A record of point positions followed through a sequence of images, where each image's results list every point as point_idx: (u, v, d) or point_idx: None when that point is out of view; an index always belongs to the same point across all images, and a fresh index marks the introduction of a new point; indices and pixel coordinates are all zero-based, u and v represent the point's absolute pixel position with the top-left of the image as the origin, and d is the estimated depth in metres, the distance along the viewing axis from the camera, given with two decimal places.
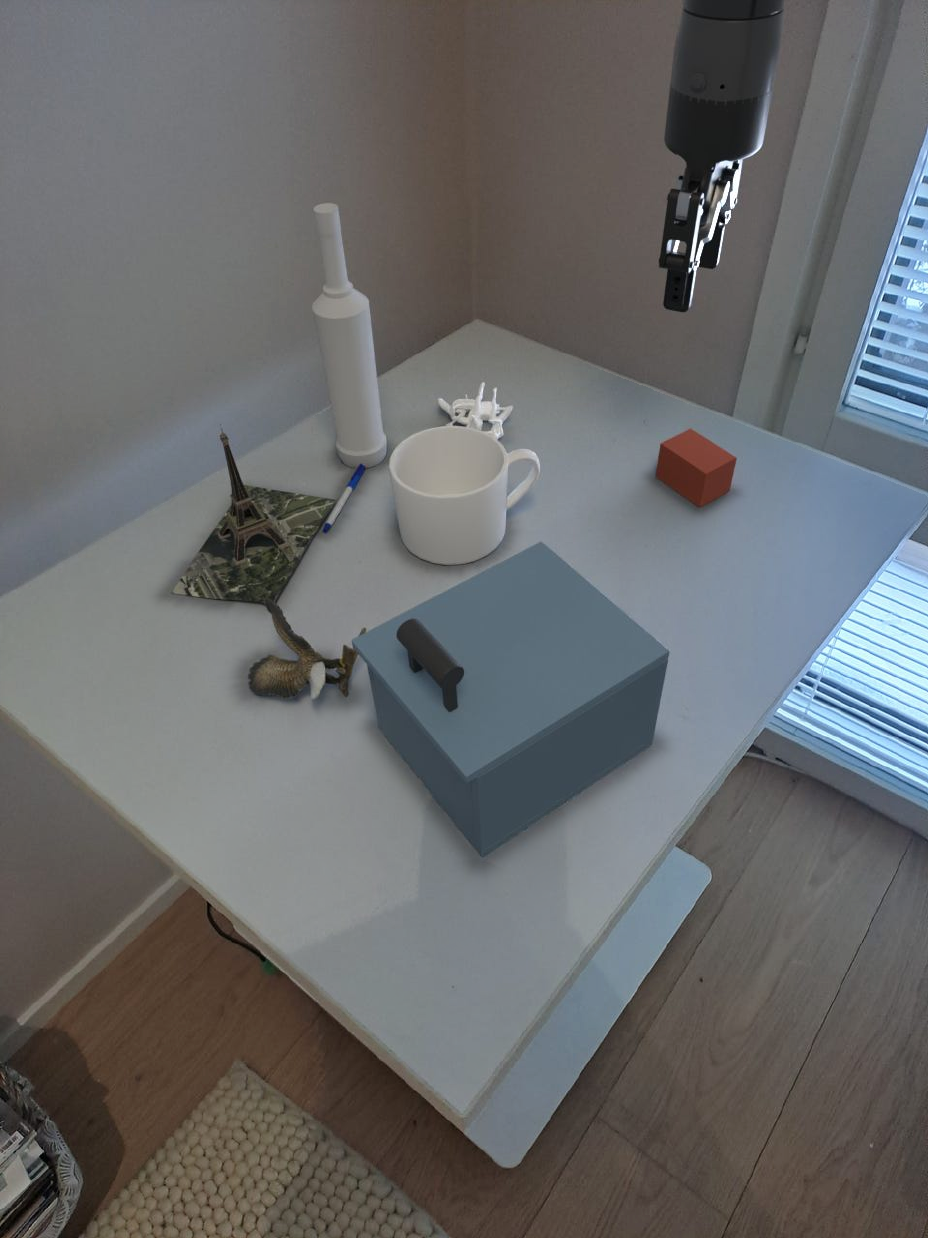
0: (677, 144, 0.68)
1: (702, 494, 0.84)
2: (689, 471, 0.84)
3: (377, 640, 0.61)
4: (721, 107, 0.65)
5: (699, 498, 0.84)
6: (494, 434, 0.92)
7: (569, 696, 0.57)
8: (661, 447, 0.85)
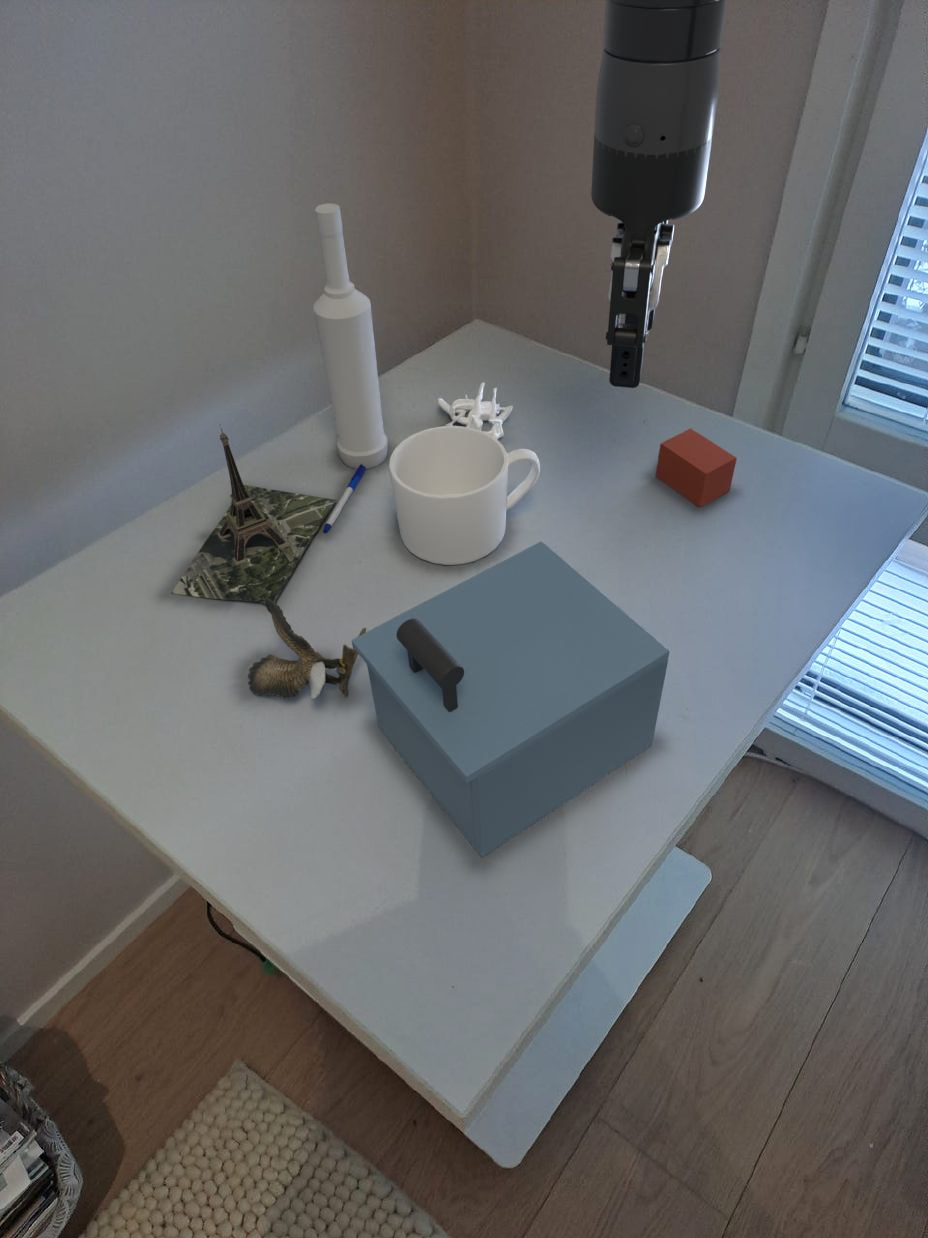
0: (612, 205, 0.59)
1: (702, 494, 0.84)
2: (689, 471, 0.84)
3: (377, 640, 0.61)
4: (663, 161, 0.56)
5: (699, 498, 0.84)
6: (494, 434, 0.92)
7: (569, 696, 0.57)
8: (661, 447, 0.85)
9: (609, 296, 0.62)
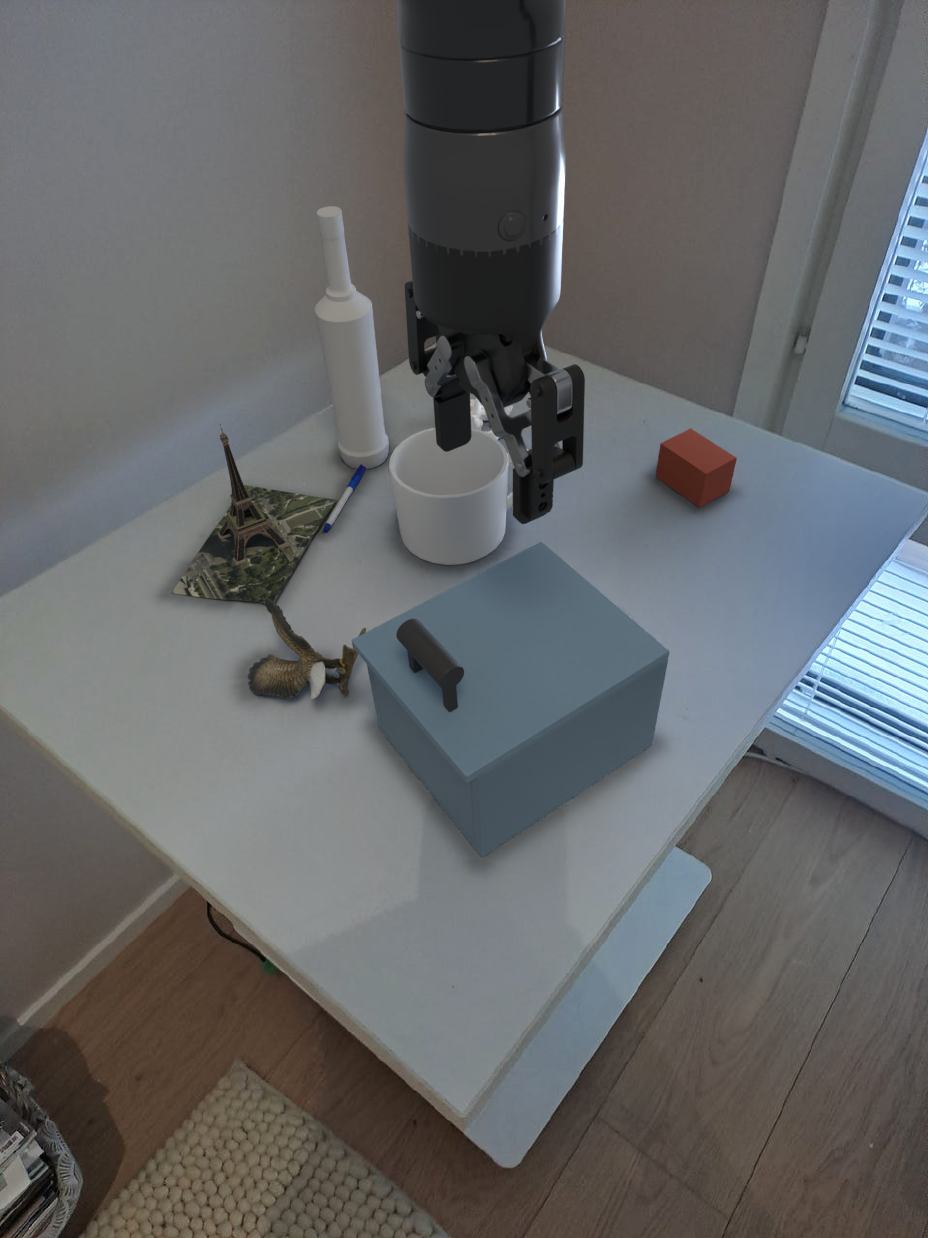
0: (490, 320, 0.43)
1: (702, 494, 0.84)
2: (689, 471, 0.84)
3: (377, 640, 0.61)
4: (546, 245, 0.42)
5: (699, 498, 0.84)
6: None
7: (569, 696, 0.57)
8: (661, 447, 0.85)
9: (503, 428, 0.47)
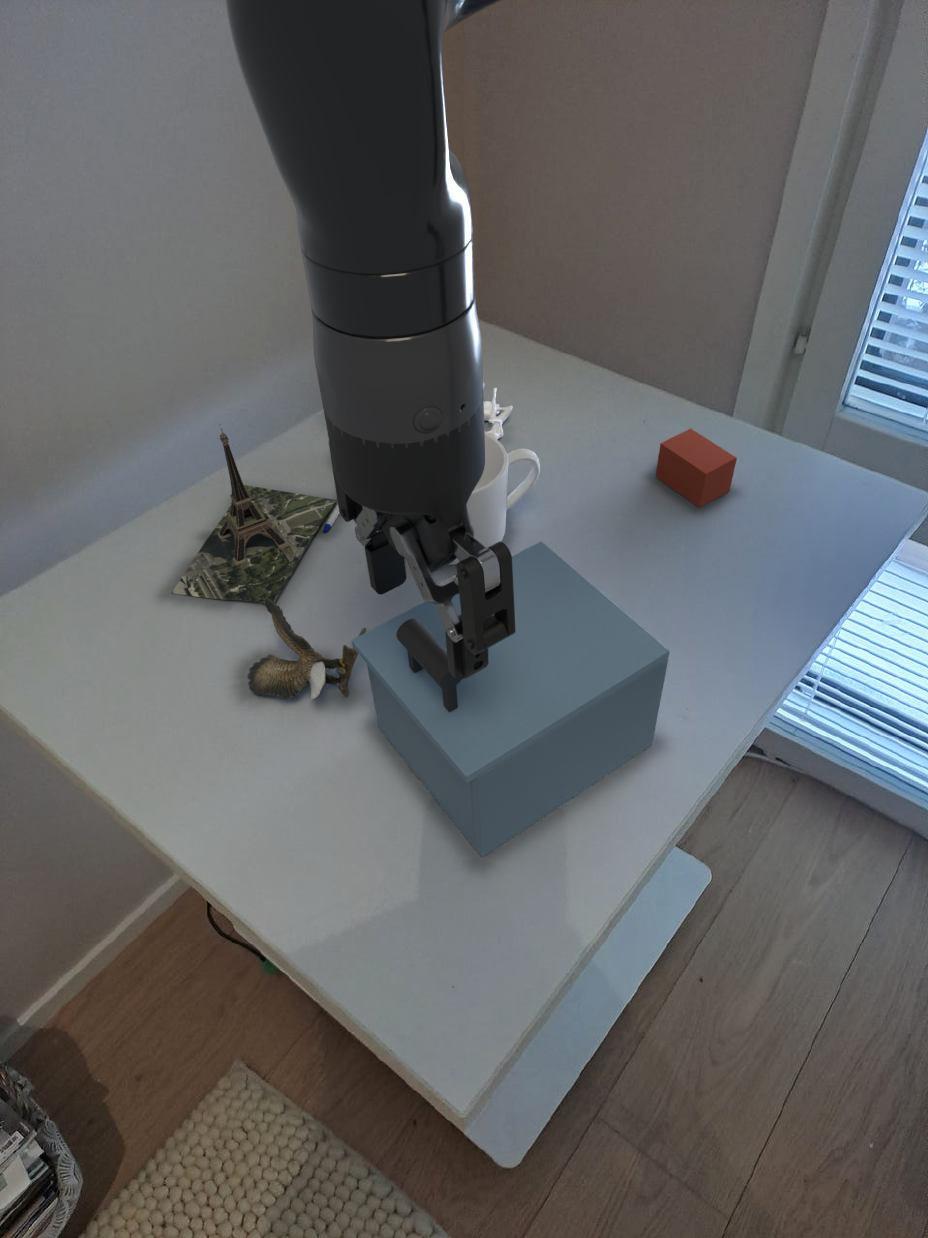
0: (411, 503, 0.42)
1: (702, 494, 0.84)
2: (689, 471, 0.84)
3: (377, 640, 0.61)
4: (466, 430, 0.41)
5: (699, 498, 0.84)
6: (494, 434, 0.92)
7: (569, 696, 0.57)
8: (661, 447, 0.85)
9: (433, 597, 0.46)
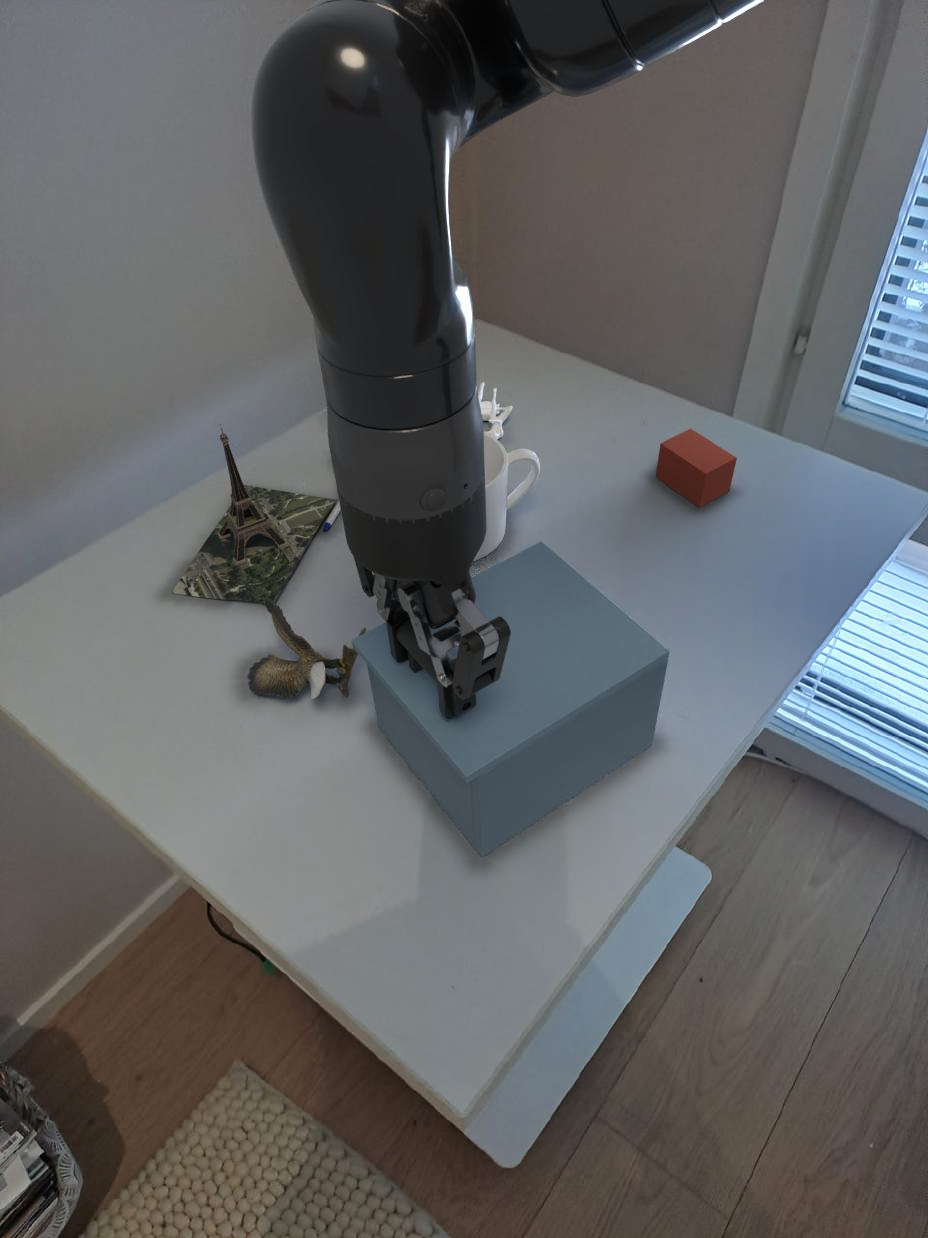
0: (418, 571, 0.45)
1: (702, 494, 0.84)
2: (689, 471, 0.84)
3: (377, 640, 0.61)
4: (468, 506, 0.44)
5: (699, 498, 0.84)
6: (494, 434, 0.92)
7: (569, 696, 0.57)
8: (661, 447, 0.85)
9: (430, 653, 0.50)
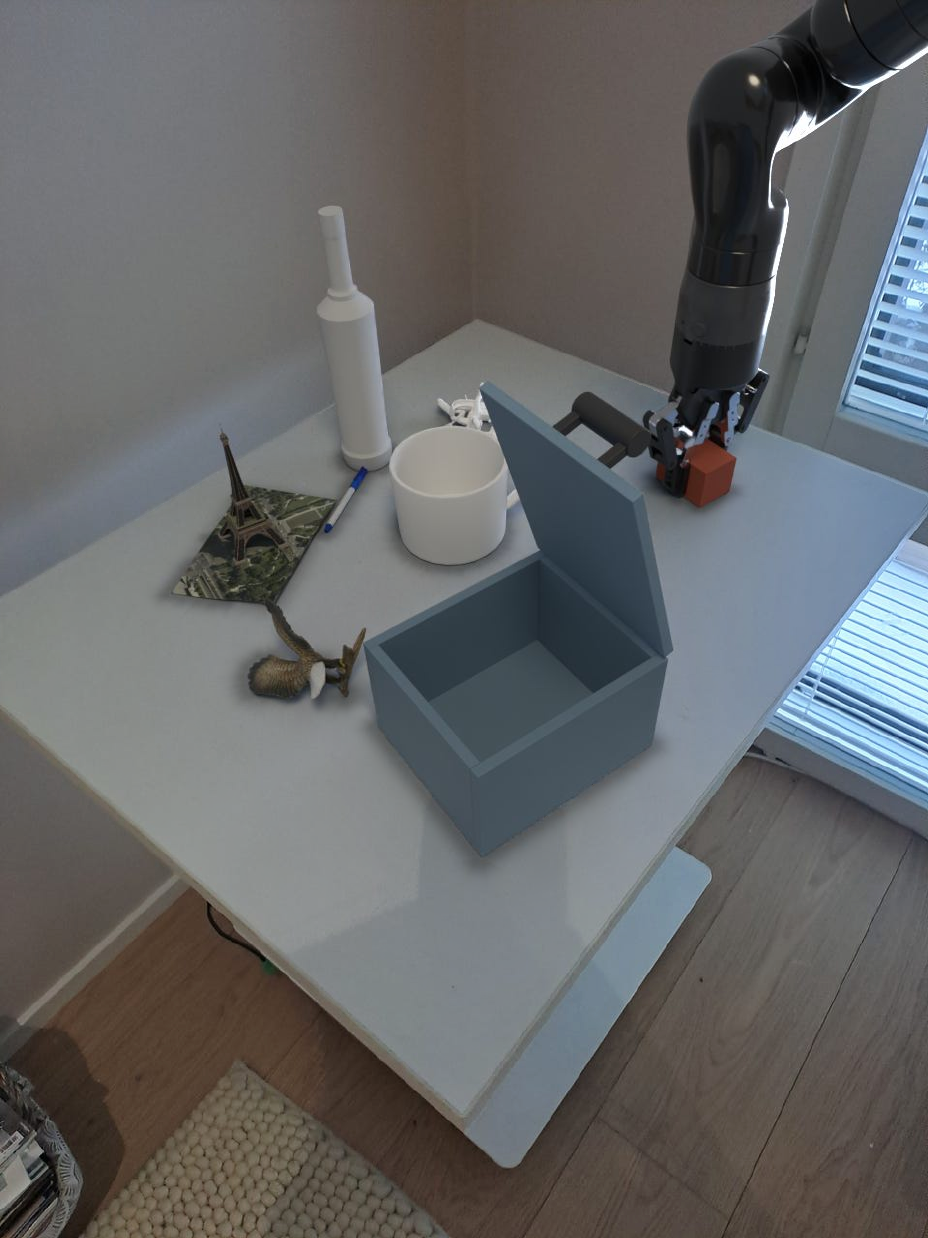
0: None
1: (702, 494, 0.84)
2: None
3: None
4: None
5: (699, 498, 0.84)
6: (494, 434, 0.92)
7: None
8: None
9: (737, 421, 0.82)
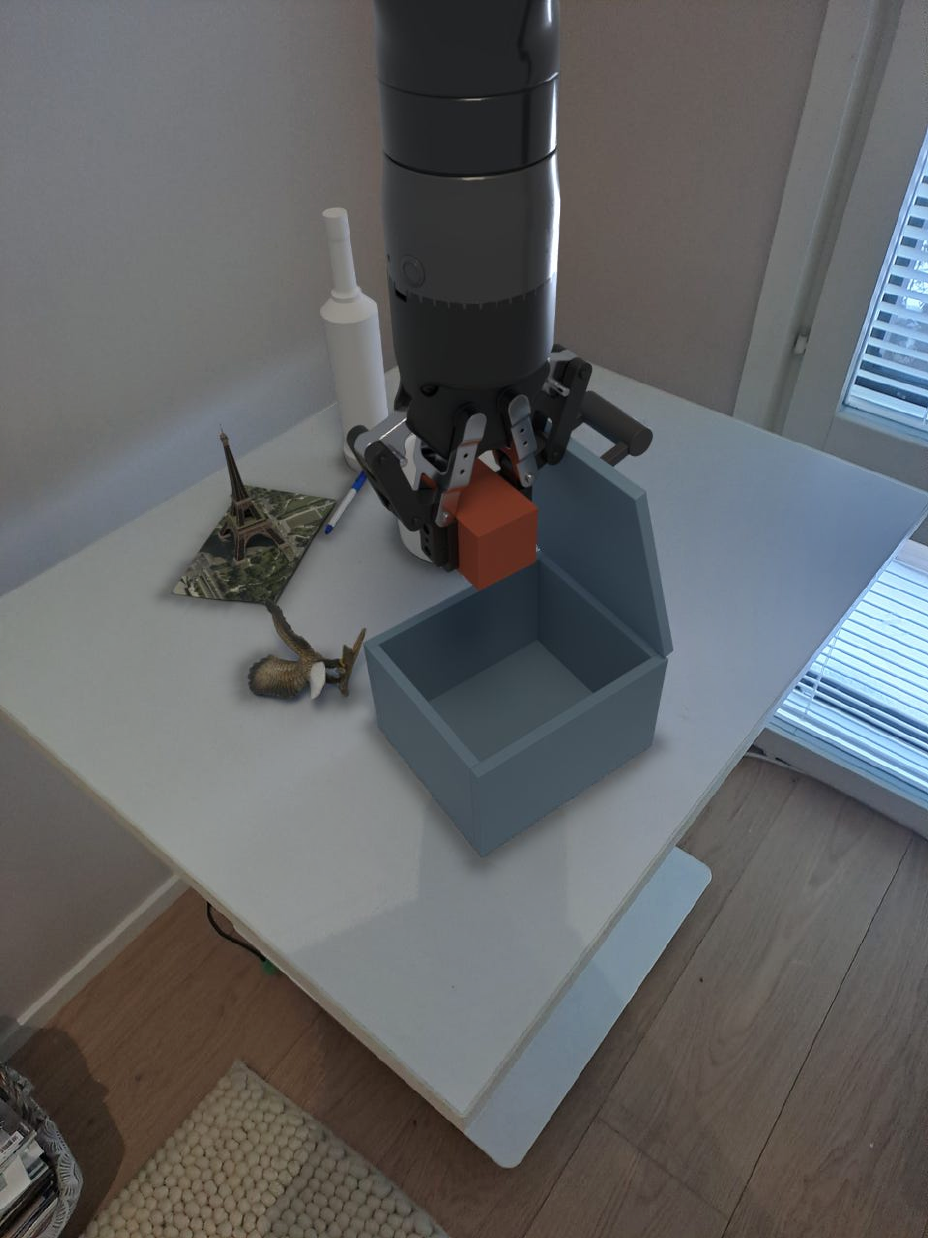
0: None
1: (478, 570, 0.48)
2: None
3: None
4: None
5: (476, 576, 0.49)
6: None
7: None
8: None
9: (536, 446, 0.47)
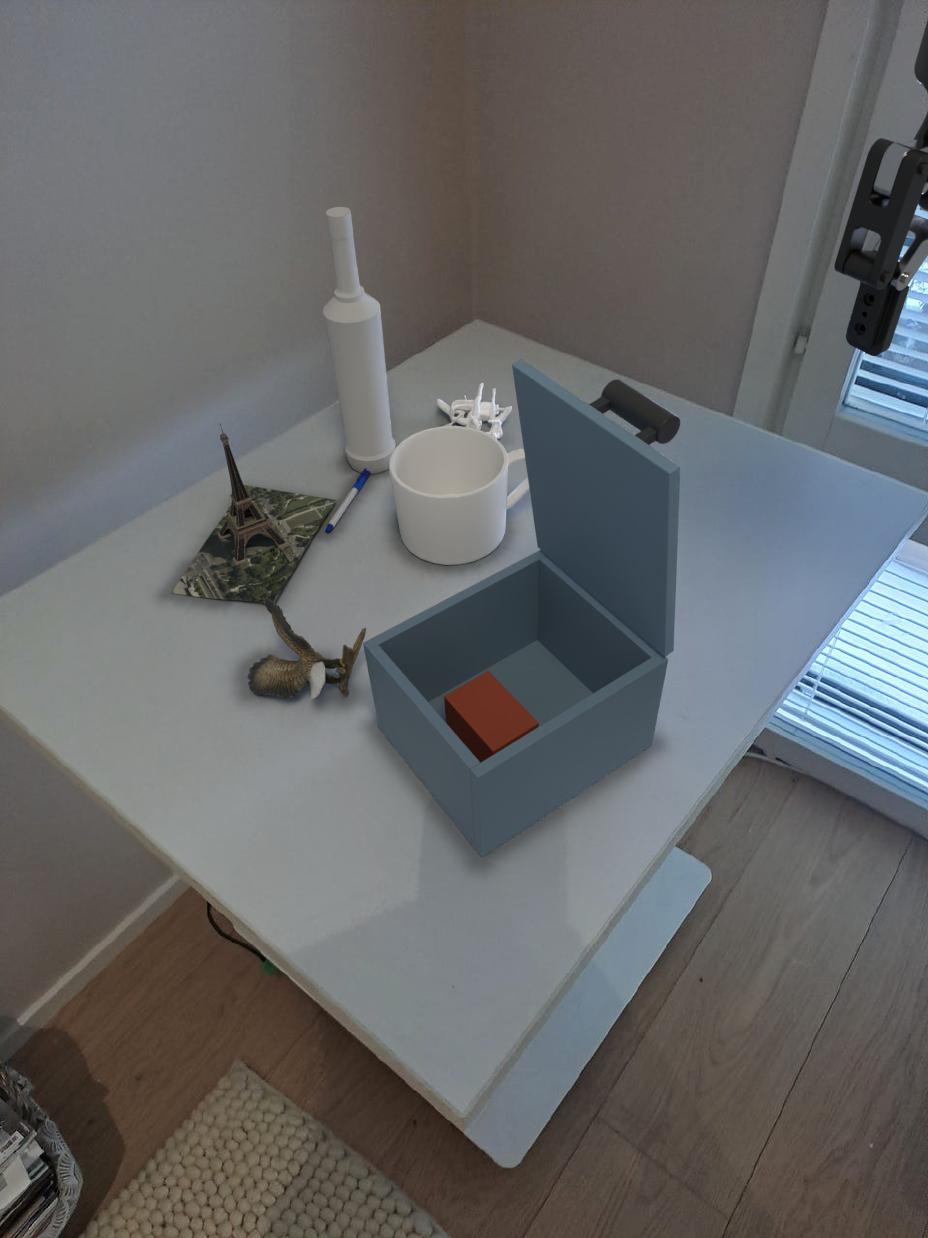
0: None
1: None
2: (477, 740, 0.63)
3: None
4: None
5: None
6: (493, 435, 0.92)
7: None
8: (445, 701, 0.65)
9: None
